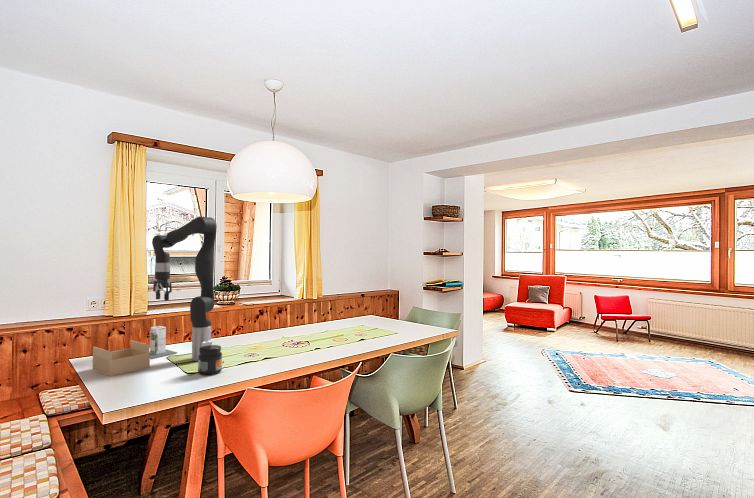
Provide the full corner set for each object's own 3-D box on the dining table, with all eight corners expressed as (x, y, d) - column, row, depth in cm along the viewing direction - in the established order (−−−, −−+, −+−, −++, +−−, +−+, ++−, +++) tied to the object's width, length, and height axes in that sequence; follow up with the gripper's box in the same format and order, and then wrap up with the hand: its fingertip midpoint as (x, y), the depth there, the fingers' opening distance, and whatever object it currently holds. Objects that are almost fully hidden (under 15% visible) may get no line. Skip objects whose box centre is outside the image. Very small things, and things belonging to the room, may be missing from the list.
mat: (177, 353, 222) (177, 352, 222) (151, 358, 211) (151, 357, 211) (163, 349, 230) (163, 348, 230) (138, 355, 218) (138, 353, 218)
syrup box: (149, 353, 219) (149, 327, 219) (159, 351, 224) (160, 325, 224) (155, 354, 216) (155, 328, 216) (166, 352, 222) (166, 326, 222)
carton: (149, 367, 196) (149, 344, 196) (110, 376, 181) (110, 352, 181) (131, 361, 206) (131, 340, 206) (92, 369, 191) (92, 346, 191)
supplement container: (226, 370, 192) (226, 345, 192) (213, 376, 182) (213, 350, 182) (206, 368, 194) (207, 344, 194) (192, 375, 184) (193, 349, 184)
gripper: (176, 271, 223) (176, 300, 223) (162, 270, 230) (161, 298, 230) (163, 271, 216) (162, 301, 216) (148, 270, 224) (148, 299, 224)
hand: (162, 299), depth 223 cm, fingers open, 8 cm apart
